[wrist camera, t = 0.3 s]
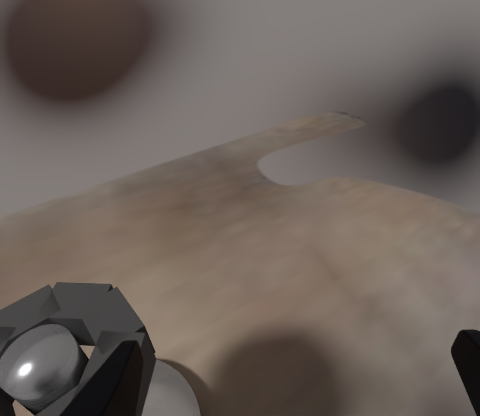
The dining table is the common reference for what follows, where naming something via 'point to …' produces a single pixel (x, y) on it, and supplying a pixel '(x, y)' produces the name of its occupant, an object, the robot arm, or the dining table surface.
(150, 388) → the pipe stand
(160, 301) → the dining table surface
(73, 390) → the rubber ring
